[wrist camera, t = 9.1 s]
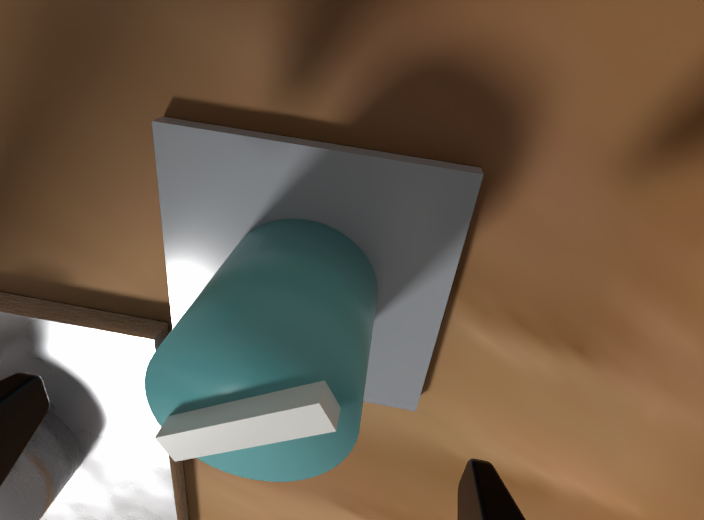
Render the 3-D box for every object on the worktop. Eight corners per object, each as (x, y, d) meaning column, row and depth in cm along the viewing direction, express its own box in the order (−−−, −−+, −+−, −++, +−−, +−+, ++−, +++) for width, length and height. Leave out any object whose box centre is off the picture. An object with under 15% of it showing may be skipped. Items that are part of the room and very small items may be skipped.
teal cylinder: (272, 359, 16) (207, 516, 11) (200, 246, 14) (81, 375, 9) (399, 327, 14) (390, 491, 9) (340, 196, 12) (290, 316, 7)
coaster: (415, 399, 16) (415, 411, 16) (183, 355, 17) (176, 366, 16) (480, 167, 12) (483, 174, 11) (162, 116, 12) (151, 120, 12)
